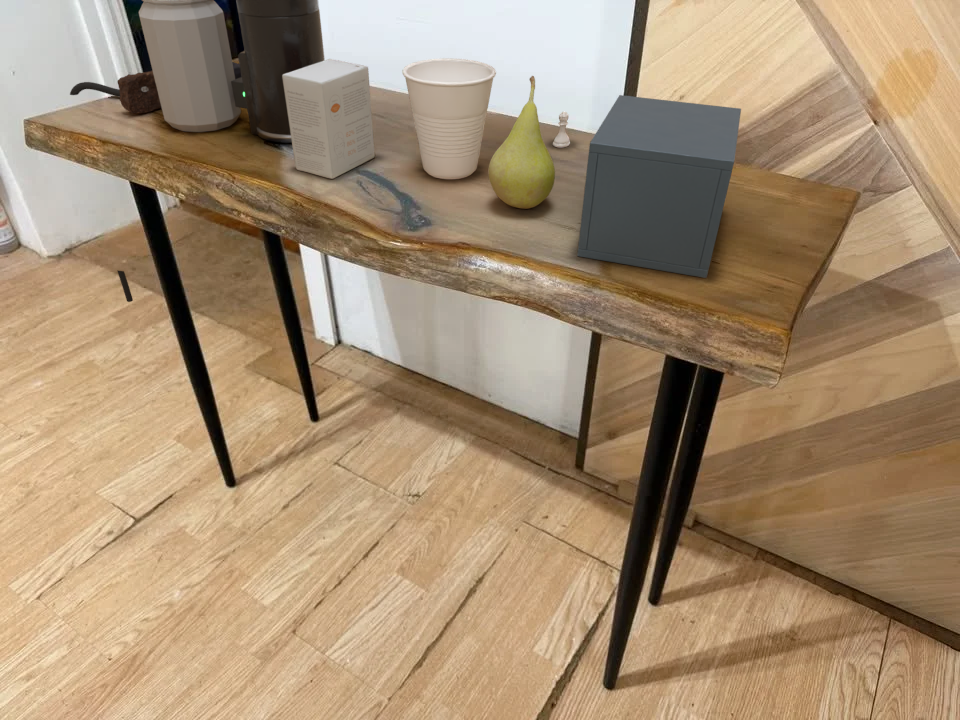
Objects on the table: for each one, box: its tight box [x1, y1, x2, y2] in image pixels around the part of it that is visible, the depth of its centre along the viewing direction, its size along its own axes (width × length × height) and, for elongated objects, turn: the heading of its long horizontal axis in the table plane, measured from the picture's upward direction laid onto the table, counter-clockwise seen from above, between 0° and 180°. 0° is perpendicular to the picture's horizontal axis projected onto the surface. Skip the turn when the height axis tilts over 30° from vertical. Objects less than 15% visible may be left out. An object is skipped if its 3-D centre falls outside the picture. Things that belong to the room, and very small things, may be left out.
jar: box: [138, 0, 242, 133], centre depth 88 cm, size 10×10×18 cm
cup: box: [401, 57, 497, 180], centre depth 78 cm, size 10×10×11 cm
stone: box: [117, 70, 162, 114], centre depth 96 cm, size 8×3×5 cm, turn 147°
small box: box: [282, 58, 376, 180], centre depth 79 cm, size 8×6×10 cm
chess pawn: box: [552, 111, 571, 149], centre depth 88 cm, size 3×2×4 cm
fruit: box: [488, 75, 556, 210], centre depth 71 cm, size 7×8×12 cm
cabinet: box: [576, 94, 742, 279], centre depth 66 cm, size 15×12×11 cm
